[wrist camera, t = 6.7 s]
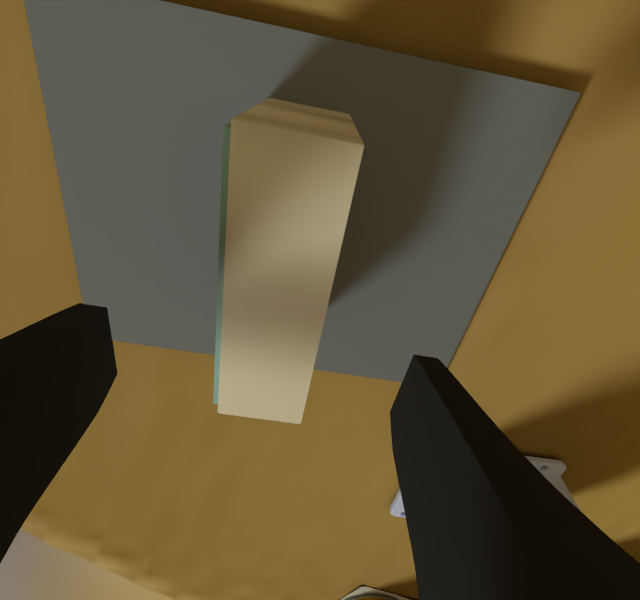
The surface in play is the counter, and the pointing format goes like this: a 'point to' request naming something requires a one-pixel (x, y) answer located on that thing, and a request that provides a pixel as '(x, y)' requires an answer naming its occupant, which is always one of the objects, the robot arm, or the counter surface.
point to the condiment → (372, 595)
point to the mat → (206, 169)
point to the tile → (278, 251)
